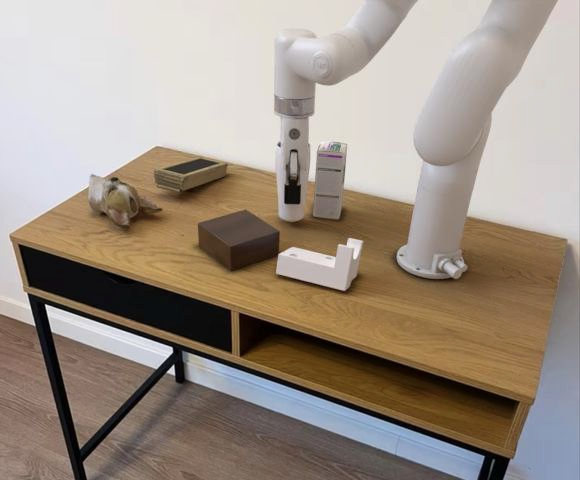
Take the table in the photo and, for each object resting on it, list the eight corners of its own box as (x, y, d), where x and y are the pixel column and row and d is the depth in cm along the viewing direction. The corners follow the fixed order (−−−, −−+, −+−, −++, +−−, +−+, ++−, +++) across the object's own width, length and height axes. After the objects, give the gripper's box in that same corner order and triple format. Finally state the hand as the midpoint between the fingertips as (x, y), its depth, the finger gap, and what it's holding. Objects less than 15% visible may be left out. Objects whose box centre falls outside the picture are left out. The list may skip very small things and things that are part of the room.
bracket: (355, 281, 116) (363, 241, 113) (344, 290, 110) (352, 248, 107) (289, 265, 120) (295, 225, 117) (275, 273, 113) (281, 231, 110)
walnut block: (279, 254, 121) (280, 231, 118) (230, 271, 115) (230, 246, 112) (245, 232, 127) (245, 209, 124) (198, 246, 122) (197, 222, 119)
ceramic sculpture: (110, 158, 131) (164, 182, 125) (113, 197, 136) (165, 221, 131) (69, 174, 124) (124, 200, 118) (74, 214, 129) (127, 240, 124)
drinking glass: (307, 224, 128) (311, 151, 119) (274, 223, 128) (274, 150, 119) (307, 210, 133) (310, 139, 124) (275, 209, 133) (276, 138, 124)
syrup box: (339, 220, 134) (346, 152, 125) (311, 217, 134) (316, 149, 125) (341, 208, 138) (348, 142, 129) (315, 205, 139) (320, 139, 130)
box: (151, 191, 137) (152, 168, 134) (203, 173, 156) (204, 153, 153) (185, 200, 135) (186, 177, 132) (233, 181, 153) (235, 160, 151)
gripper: (317, 119, 110) (312, 215, 121) (312, 92, 124) (308, 180, 135) (274, 118, 110) (273, 215, 121) (273, 91, 124) (273, 180, 135)
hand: (291, 196), depth 128 cm, fingers closed on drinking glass, 5 cm apart
